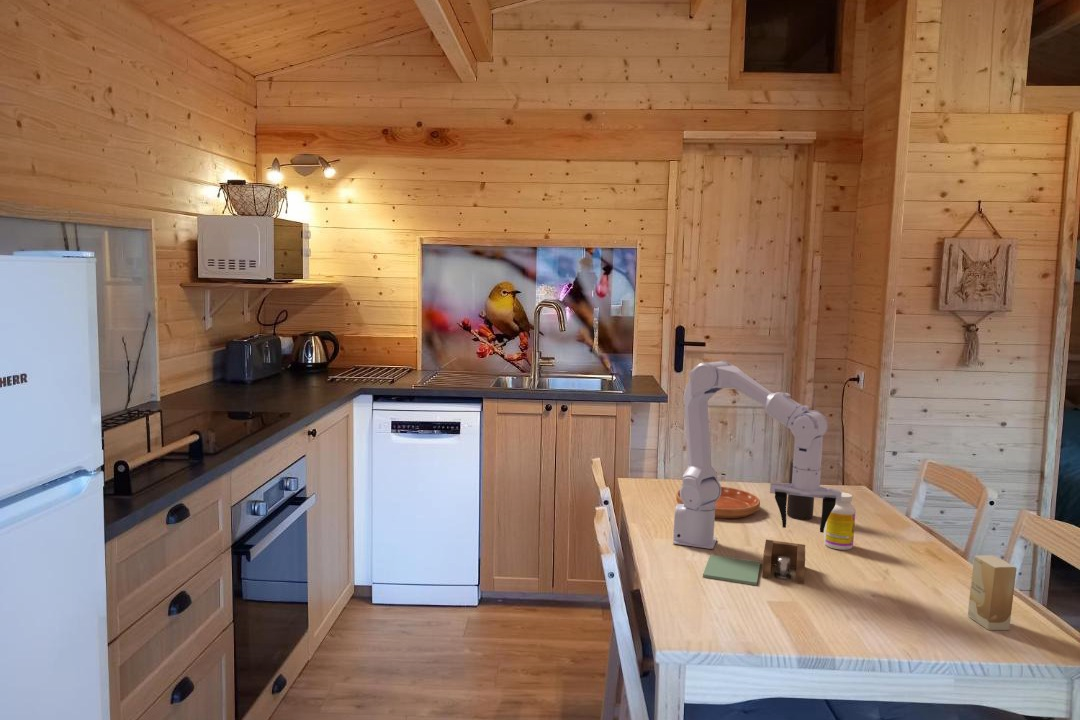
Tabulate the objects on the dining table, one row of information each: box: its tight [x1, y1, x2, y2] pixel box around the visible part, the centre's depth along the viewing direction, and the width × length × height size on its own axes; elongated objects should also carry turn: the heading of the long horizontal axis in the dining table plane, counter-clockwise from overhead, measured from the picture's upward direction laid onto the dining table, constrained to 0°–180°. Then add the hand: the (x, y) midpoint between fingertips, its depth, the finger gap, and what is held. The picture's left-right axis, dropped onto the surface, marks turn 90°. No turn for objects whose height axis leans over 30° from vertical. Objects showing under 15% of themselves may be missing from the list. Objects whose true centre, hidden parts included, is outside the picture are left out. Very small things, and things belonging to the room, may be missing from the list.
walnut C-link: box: [761, 539, 806, 585], centre depth 163 cm, size 8×11×5 cm
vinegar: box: [786, 458, 815, 521], centre depth 204 cm, size 7×7×20 cm
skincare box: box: [967, 554, 1017, 631], centre depth 140 cm, size 6×4×12 cm
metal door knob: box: [774, 556, 792, 581], centre depth 160 cm, size 3×3×4 cm
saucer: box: [675, 486, 761, 519], centre depth 210 cm, size 23×23×4 cm
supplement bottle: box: [823, 491, 856, 551], centre depth 181 cm, size 7×7×13 cm
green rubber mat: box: [702, 554, 761, 586], centre depth 163 cm, size 11×13×1 cm
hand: (802, 528), depth 163 cm, fingers open, 7 cm apart
